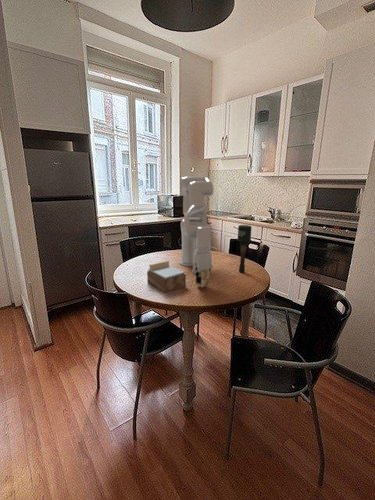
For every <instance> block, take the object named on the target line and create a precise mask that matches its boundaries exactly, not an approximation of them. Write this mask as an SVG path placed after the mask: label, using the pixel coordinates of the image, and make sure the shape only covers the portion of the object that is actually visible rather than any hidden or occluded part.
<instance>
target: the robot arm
mask: <svg viewBox="0 0 375 500" xmlns="http://www.w3.org/2000/svg"><path fill="white" fill-rule="evenodd" d="M179 184H180V185H179V186H180V189H181V191H182V192H181V193H182V197H183V199H182V200H183V202H182V213H183V215H184V217H183V219H182V220H181V221H180V231H181V260H180V261H179V265H181V266H184V267H192V270H191V273H192V274H193V275H195V284H196V283H199V284H201V277H200V275H201V271H204V270H208V269H209V274H210V273H211V270H212V269H213V268H214V266H213V264H212V253H211V252H212V251H211V248H212V246H211V244H212V243H211V242H212V241H211V239H212V237H211V236H212V229H211V226H210V225H209V224H208V223H207V222H208V221H207V220H208V207H207V204H206V203H205V202H206V201H205V197H212V196H213V194H214V185H213V182H212V181H211V180H210V179H209V178H208V177H207V176H184V177H181V178H180V182H179ZM198 272H199V274H198Z"/></svg>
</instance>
